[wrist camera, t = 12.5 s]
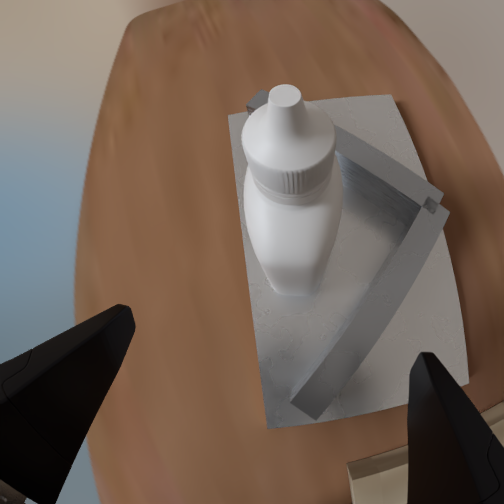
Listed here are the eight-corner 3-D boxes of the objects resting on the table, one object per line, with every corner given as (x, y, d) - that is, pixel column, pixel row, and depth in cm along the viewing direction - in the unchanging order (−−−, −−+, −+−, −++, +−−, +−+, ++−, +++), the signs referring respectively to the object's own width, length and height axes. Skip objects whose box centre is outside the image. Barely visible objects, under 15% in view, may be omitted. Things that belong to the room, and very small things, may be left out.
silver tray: (269, 424, 16) (260, 446, 12) (230, 123, 22) (217, 87, 18) (461, 381, 15) (494, 389, 11) (388, 103, 20) (398, 66, 17)
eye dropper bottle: (237, 269, 18) (131, 156, 6) (289, 189, 19) (266, 14, 7) (304, 310, 17) (312, 256, 5) (354, 224, 17) (416, 65, 6)
